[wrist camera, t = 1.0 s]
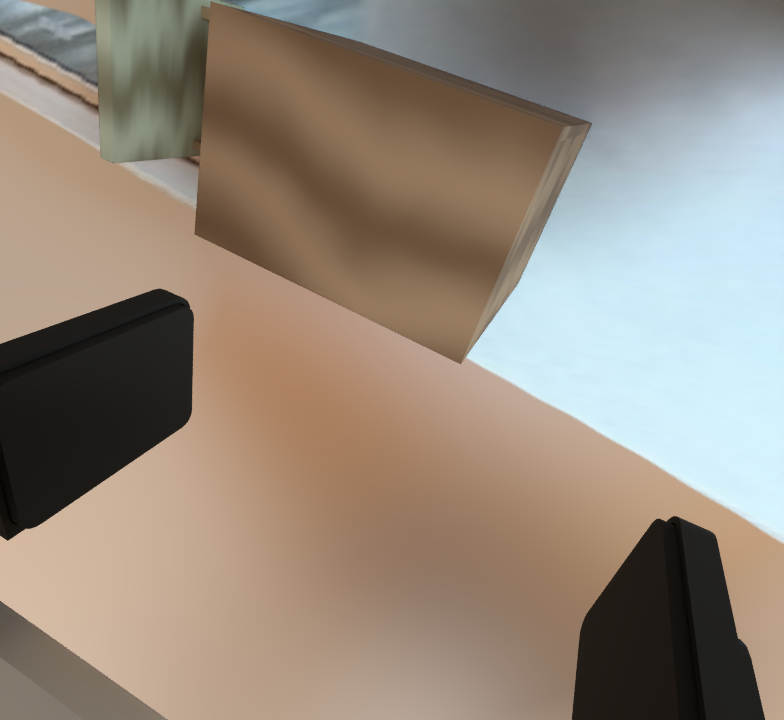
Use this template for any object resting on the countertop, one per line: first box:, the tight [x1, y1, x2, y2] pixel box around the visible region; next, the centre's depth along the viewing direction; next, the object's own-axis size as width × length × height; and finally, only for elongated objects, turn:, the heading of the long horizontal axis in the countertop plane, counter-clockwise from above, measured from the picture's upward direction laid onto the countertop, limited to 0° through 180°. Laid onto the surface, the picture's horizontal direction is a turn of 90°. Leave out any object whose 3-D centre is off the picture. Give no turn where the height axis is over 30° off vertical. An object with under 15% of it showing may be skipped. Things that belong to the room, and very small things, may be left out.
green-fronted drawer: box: [95, 0, 245, 163], centre depth 36 cm, size 11×20×12 cm, turn 73°
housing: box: [195, 2, 592, 364], centre depth 32 cm, size 12×18×16 cm, turn 73°
